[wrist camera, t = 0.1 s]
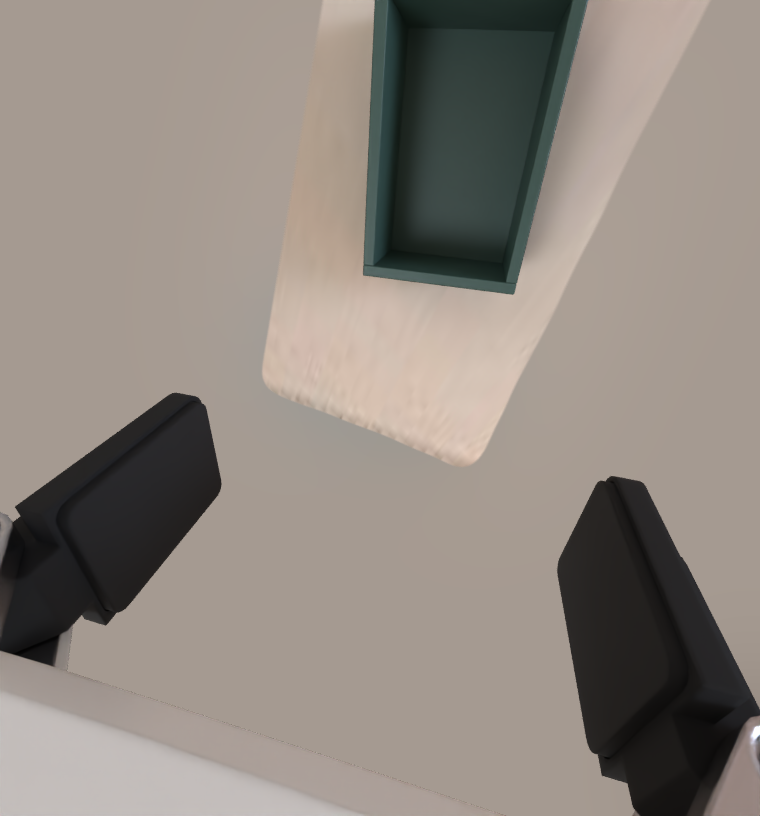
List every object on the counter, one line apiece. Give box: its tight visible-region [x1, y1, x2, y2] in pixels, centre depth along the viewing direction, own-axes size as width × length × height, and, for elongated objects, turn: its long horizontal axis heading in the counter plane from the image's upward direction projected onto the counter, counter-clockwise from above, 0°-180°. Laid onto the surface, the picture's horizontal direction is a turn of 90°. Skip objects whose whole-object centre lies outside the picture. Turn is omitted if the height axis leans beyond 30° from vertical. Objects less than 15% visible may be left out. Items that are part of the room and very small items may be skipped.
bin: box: [363, 0, 588, 295], centre depth 29 cm, size 17×12×8 cm
